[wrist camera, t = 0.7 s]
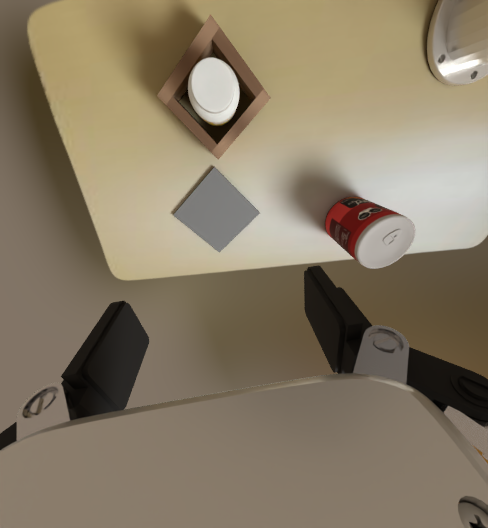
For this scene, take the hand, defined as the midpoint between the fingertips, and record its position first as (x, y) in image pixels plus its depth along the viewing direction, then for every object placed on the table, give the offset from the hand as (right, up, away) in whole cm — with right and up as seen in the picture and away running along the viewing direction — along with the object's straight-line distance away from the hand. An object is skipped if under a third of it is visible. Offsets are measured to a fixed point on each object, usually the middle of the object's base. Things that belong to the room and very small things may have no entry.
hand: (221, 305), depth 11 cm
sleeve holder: (-3, +23, +17) cm, 29 cm away
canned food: (+19, +11, +27) cm, 35 cm away
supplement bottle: (-3, +24, +17) cm, 29 cm away
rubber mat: (-3, +11, +24) cm, 27 cm away
